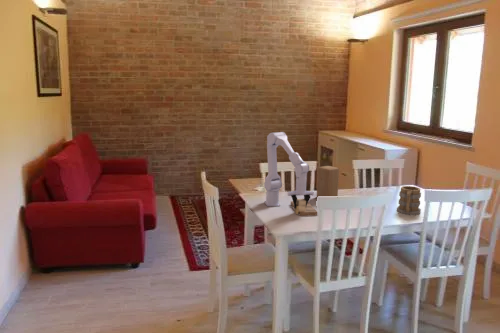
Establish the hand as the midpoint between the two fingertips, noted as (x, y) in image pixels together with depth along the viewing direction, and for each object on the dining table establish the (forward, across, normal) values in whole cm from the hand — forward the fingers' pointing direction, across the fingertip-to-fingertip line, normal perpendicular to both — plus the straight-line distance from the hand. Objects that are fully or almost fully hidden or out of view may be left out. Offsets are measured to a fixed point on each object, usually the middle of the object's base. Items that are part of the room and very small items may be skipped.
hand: (300, 207), depth 252 cm
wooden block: (+4, +26, +31) cm, 41 cm away
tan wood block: (+3, 0, 0) cm, 3 cm away
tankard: (+4, +63, -4) cm, 63 cm away
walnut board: (+3, +4, +7) cm, 9 cm away
